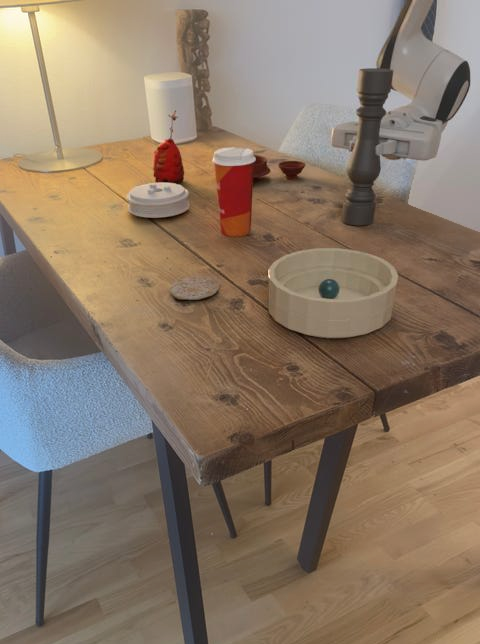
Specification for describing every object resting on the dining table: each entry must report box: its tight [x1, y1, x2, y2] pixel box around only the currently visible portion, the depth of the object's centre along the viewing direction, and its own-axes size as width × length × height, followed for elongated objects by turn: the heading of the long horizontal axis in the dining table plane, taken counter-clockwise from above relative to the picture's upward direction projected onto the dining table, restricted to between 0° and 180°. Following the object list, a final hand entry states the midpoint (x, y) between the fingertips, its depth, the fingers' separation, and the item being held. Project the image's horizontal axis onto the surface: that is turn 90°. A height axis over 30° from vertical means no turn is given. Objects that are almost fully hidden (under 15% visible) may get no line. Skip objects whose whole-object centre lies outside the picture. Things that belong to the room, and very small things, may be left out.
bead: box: [319, 279, 339, 299], centre depth 82 cm, size 3×3×3 cm
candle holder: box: [341, 67, 394, 226], centre depth 103 cm, size 6×6×25 cm
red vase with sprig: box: [152, 110, 185, 184], centre depth 129 cm, size 8×7×15 cm
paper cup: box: [211, 146, 256, 237], centre depth 103 cm, size 8×8×14 cm
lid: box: [125, 182, 191, 219], centre depth 115 cm, size 13×13×5 cm
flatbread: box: [169, 275, 220, 301], centre depth 87 cm, size 8×8×1 cm
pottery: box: [253, 154, 307, 183], centre depth 132 cm, size 12×20×4 cm, turn 94°
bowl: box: [267, 247, 399, 339], centre depth 80 cm, size 18×18×6 cm
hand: (363, 148), depth 102 cm, fingers closed on candle holder, 3 cm apart
